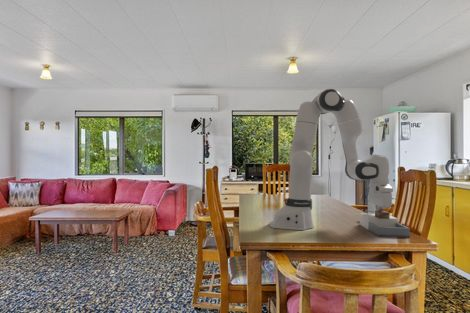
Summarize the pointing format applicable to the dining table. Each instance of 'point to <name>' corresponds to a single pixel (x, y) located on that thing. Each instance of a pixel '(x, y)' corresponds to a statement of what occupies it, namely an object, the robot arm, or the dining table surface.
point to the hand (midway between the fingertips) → (378, 213)
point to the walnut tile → (382, 214)
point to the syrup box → (371, 208)
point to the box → (389, 230)
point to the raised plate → (377, 221)
